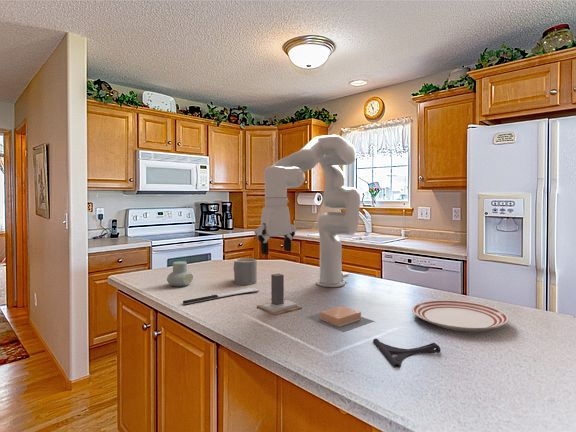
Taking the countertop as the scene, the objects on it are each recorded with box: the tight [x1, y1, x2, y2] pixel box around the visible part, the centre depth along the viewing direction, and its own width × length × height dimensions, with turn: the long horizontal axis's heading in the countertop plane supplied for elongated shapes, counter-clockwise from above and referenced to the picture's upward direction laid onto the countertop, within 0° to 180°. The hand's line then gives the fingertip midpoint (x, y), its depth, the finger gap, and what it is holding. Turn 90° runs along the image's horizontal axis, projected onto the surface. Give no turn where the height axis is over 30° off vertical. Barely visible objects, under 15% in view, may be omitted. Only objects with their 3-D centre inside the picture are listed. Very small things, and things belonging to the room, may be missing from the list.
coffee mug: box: [233, 257, 258, 286], centre depth 167 cm, size 13×10×10 cm
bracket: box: [372, 338, 441, 368], centre depth 93 cm, size 14×15×3 cm
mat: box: [306, 312, 375, 333], centre depth 116 cm, size 14×16×1 cm
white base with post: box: [262, 273, 298, 312], centre depth 126 cm, size 6×10×11 cm, turn 129°
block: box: [319, 305, 362, 326], centre depth 116 cm, size 10×2×8 cm
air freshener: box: [166, 260, 194, 287], centre depth 161 cm, size 11×8×10 cm
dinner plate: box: [411, 299, 510, 332], centre depth 116 cm, size 28×27×3 cm
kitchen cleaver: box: [182, 287, 260, 306], centre depth 144 cm, size 31×2×10 cm
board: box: [256, 302, 302, 316], centre depth 127 cm, size 11×11×1 cm
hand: (276, 252), depth 127 cm, fingers open, 9 cm apart
